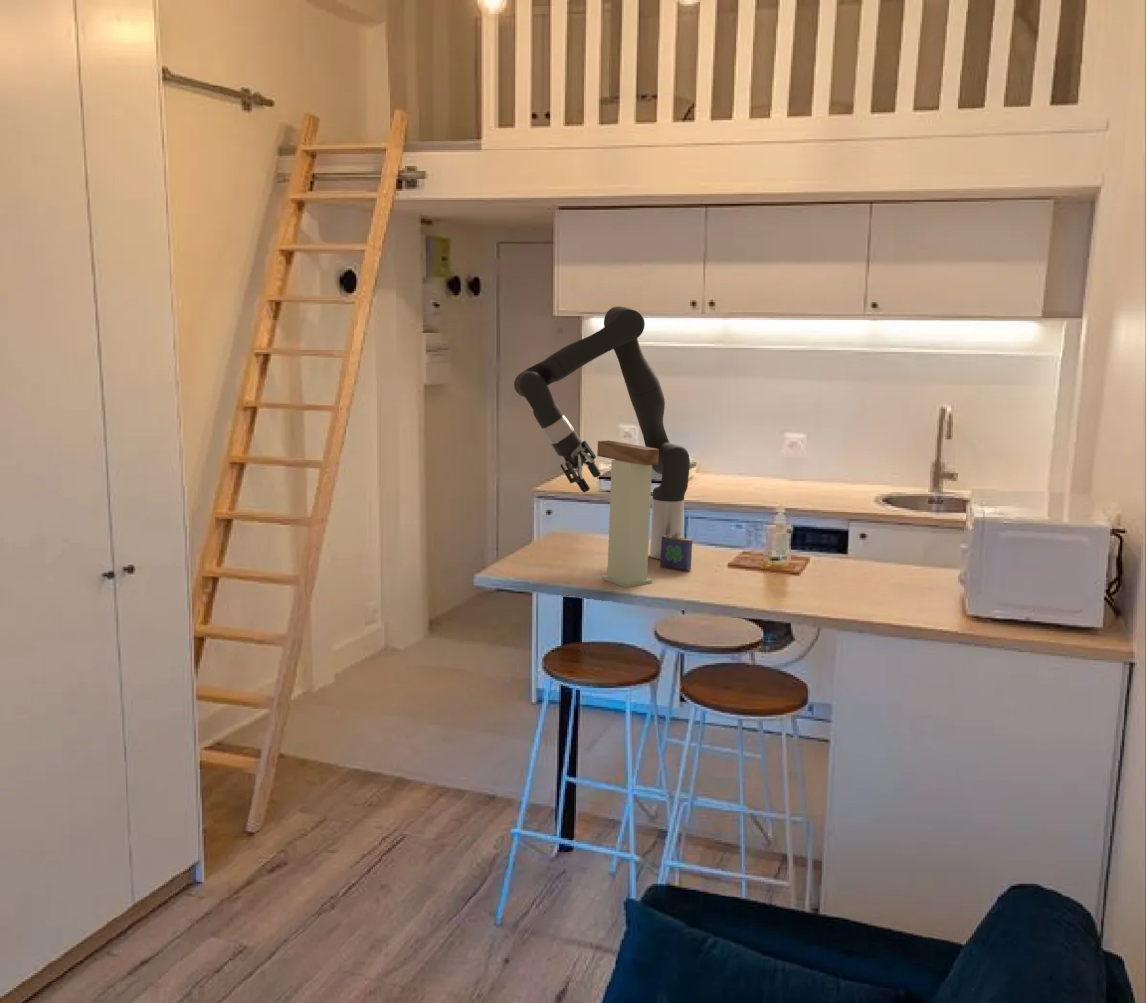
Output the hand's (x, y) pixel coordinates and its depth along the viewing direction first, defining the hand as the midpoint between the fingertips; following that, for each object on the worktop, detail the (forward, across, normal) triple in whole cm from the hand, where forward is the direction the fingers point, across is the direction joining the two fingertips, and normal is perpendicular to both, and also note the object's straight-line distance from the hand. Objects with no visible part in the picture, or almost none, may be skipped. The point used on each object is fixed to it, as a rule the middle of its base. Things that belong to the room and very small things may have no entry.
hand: (592, 483), depth 281 cm
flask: (+32, +1, +9) cm, 34 cm away
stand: (+23, +19, +6) cm, 30 cm away
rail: (-4, +7, +18) cm, 19 cm away
